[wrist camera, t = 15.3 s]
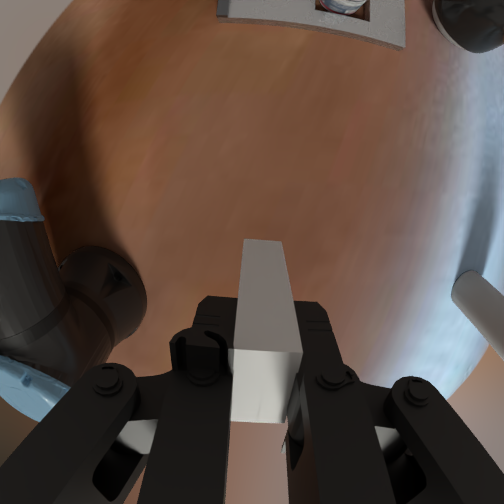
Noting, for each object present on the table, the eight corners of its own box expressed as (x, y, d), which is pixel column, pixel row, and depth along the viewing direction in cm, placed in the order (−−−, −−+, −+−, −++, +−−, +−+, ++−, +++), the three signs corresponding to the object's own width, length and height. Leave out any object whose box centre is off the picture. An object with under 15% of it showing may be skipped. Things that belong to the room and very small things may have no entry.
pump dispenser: (482, 63, 27) (555, 56, 13) (429, 49, 27) (502, 28, 13) (469, 4, 23) (533, -18, 9) (414, -13, 23) (474, -53, 9)
